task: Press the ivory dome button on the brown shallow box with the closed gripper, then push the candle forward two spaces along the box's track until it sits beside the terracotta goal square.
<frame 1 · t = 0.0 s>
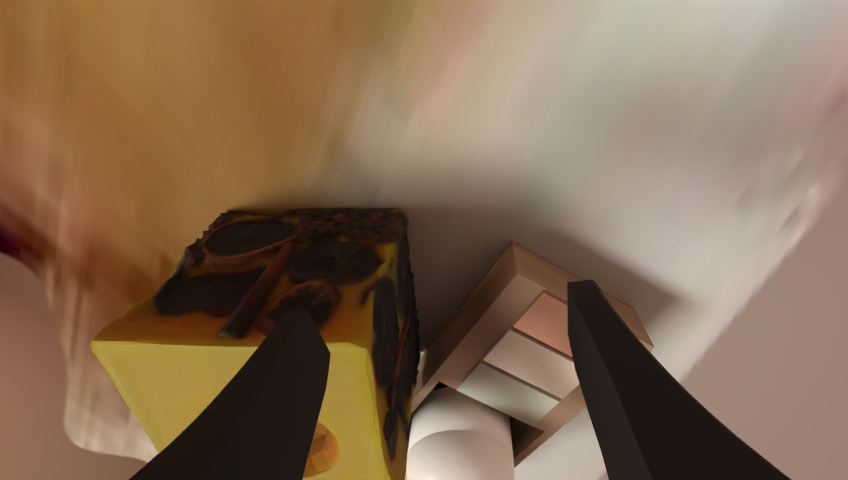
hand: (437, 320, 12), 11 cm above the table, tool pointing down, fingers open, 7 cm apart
brown shallow box: (490, 367, 27), on the table
dome button: (459, 465, 25), point 5 cm above the table, slide at 0.0 cm
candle: (330, 284, 26), on the table
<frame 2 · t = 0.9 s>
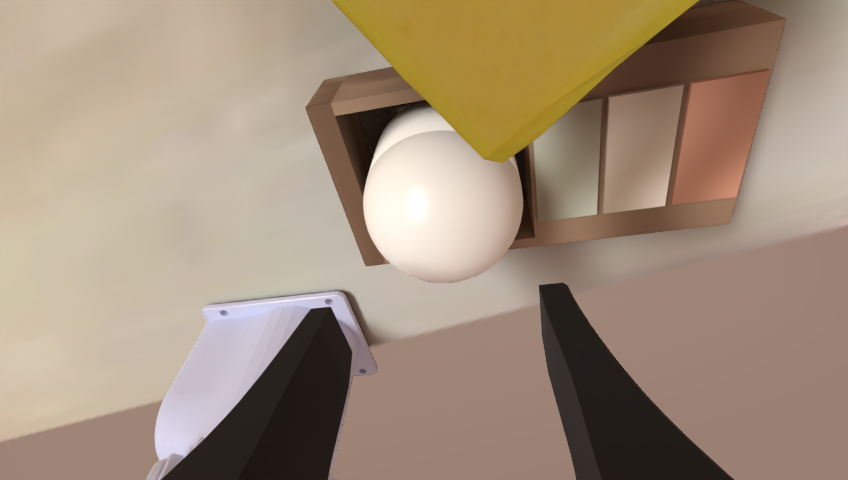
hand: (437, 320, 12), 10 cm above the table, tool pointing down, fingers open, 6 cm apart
brown shallow box: (521, 135, 20), on the table
dome button: (442, 203, 17), point 5 cm above the table, slide at 0.0 cm
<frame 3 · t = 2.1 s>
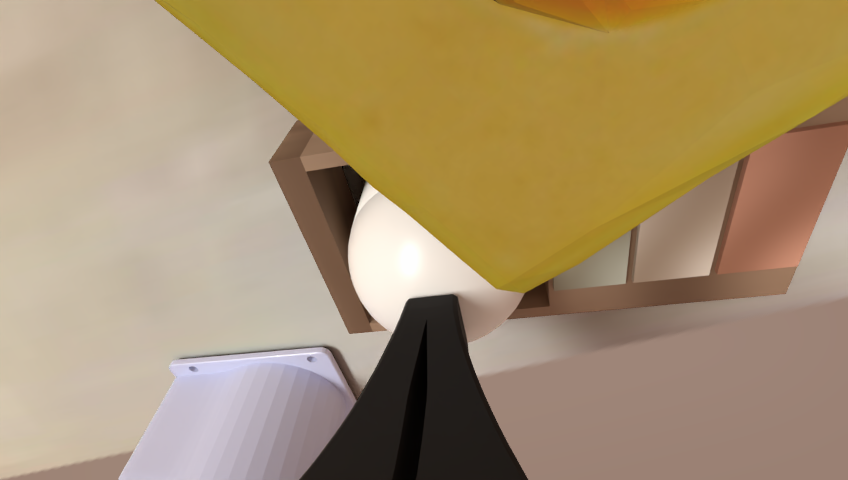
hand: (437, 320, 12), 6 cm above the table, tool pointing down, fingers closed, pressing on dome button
brown shallow box: (533, 184, 17), on the table
dome button: (439, 253, 15), point 3 cm above the table, slide at 1.2 cm, touching gripper
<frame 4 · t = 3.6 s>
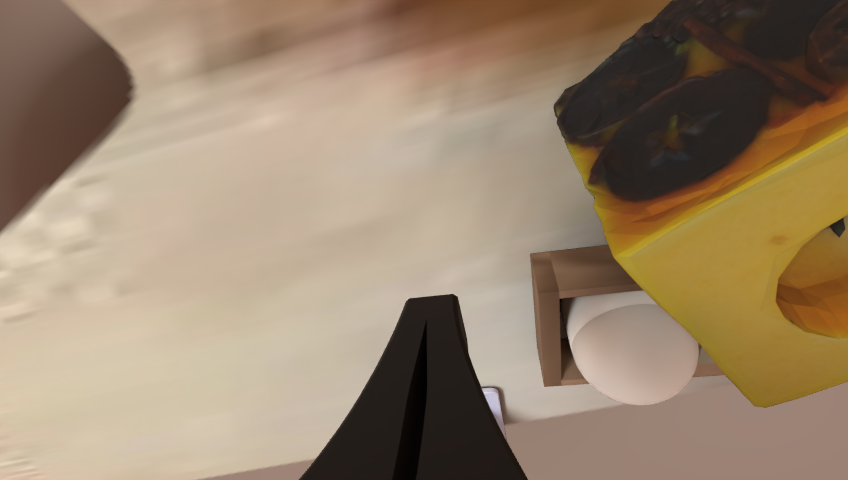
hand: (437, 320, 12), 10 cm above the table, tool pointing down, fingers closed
brown shallow box: (677, 290, 25), on the table
dome button: (631, 343, 23), point 3 cm above the table, slide at 1.2 cm
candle: (712, 102, 19), on the table
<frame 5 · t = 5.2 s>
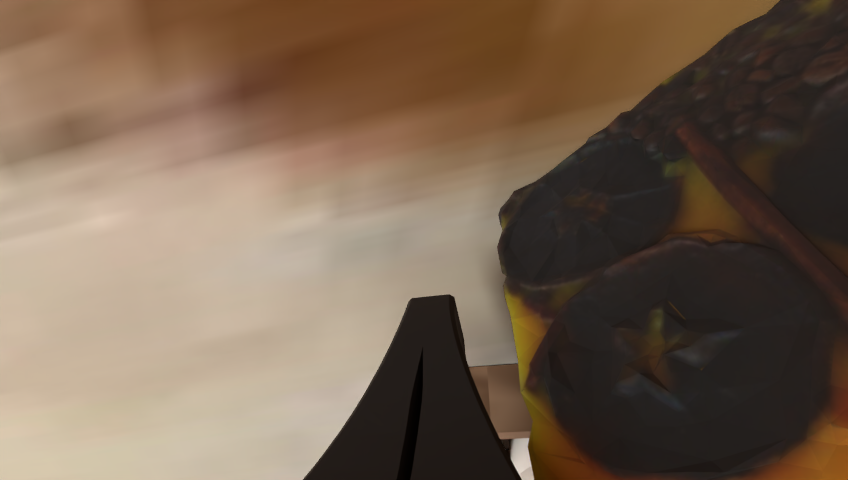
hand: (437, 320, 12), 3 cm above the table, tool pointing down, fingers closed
brown shallow box: (649, 407, 20), on the table
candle: (715, 207, 14), on the table, touching gripper
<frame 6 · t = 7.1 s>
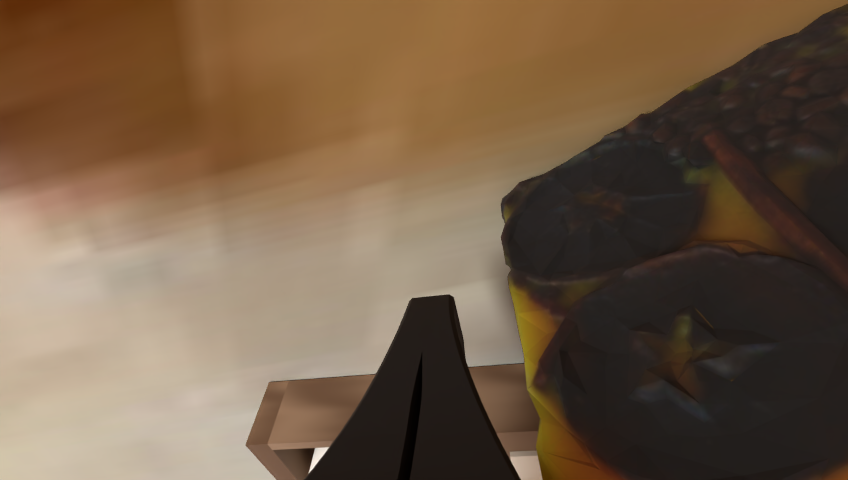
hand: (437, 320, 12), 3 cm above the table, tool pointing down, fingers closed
brown shallow box: (450, 418, 22), on the table
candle: (708, 221, 14), on the table, touching brown shallow box, gripper
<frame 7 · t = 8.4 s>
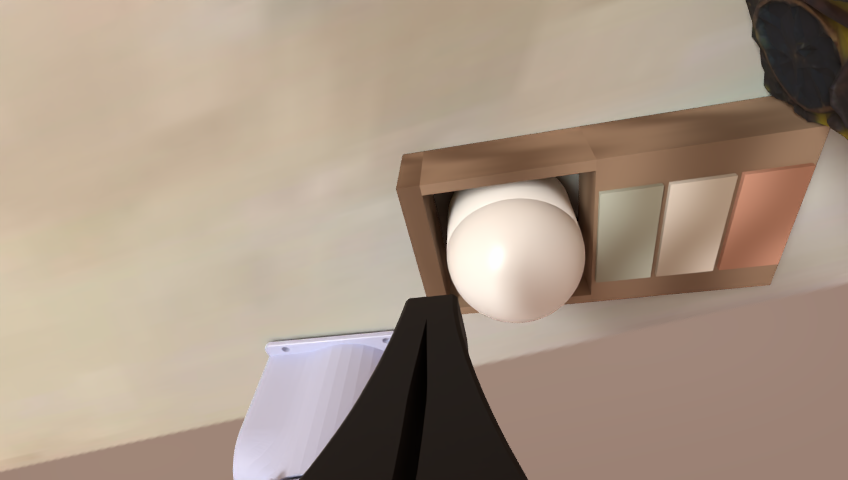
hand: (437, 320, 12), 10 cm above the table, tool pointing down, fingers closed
brown shallow box: (578, 201, 22), on the table
dome button: (513, 254, 20), point 3 cm above the table, slide at 1.2 cm
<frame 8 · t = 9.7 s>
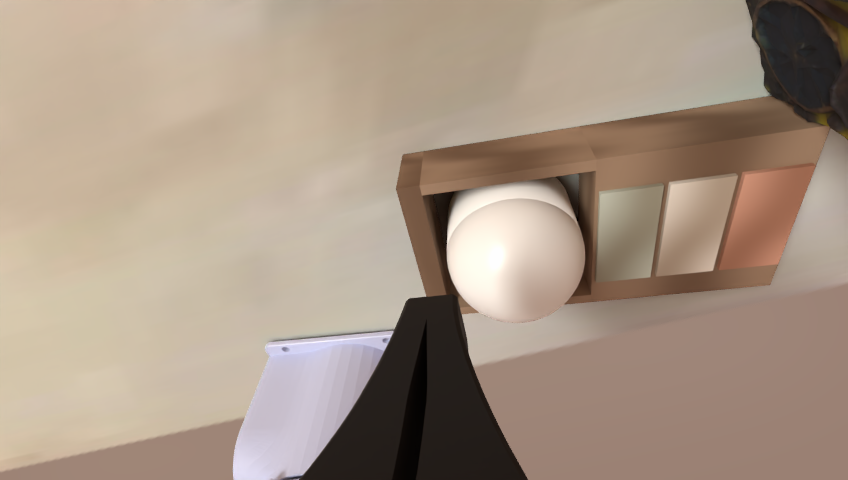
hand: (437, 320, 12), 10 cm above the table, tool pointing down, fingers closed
brown shallow box: (578, 201, 22), on the table
dome button: (513, 254, 20), point 3 cm above the table, slide at 1.2 cm
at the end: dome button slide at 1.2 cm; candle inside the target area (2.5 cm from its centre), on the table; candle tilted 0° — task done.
